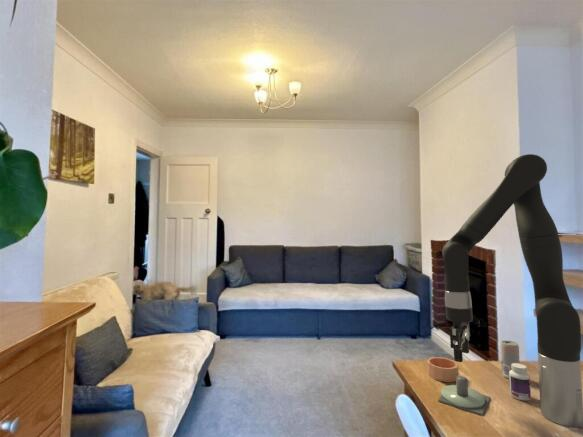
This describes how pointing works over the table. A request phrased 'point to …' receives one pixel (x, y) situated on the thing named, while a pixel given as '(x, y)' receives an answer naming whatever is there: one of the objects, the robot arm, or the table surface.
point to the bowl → (442, 369)
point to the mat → (473, 410)
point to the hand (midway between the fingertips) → (462, 356)
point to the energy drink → (509, 356)
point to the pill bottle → (519, 382)
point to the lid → (462, 394)
